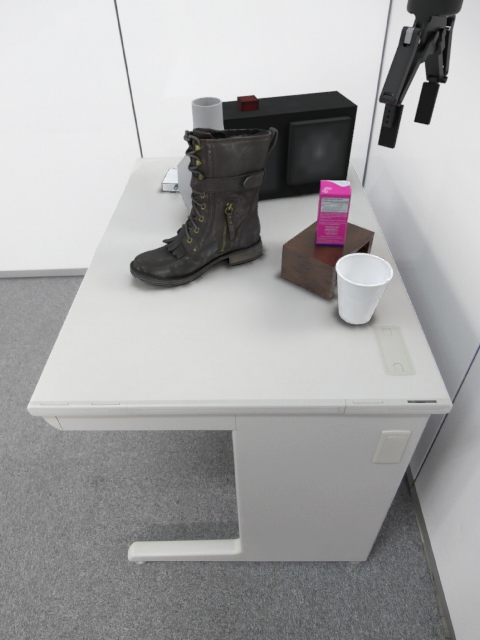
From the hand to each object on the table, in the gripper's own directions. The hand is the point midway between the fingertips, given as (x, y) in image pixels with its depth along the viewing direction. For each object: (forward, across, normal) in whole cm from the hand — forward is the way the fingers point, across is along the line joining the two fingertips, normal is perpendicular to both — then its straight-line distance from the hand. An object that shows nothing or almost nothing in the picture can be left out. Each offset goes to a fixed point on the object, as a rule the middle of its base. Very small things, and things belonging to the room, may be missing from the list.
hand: (404, 134), depth 76 cm
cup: (+29, +16, +4) cm, 33 cm away
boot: (+29, +22, -30) cm, 47 cm away
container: (+29, -3, -62) cm, 68 cm away
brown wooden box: (+29, +7, -8) cm, 31 cm away
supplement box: (+21, +7, -8) cm, 23 cm away
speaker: (+29, -18, -39) cm, 52 cm away
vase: (+29, +6, -42) cm, 51 cm away
